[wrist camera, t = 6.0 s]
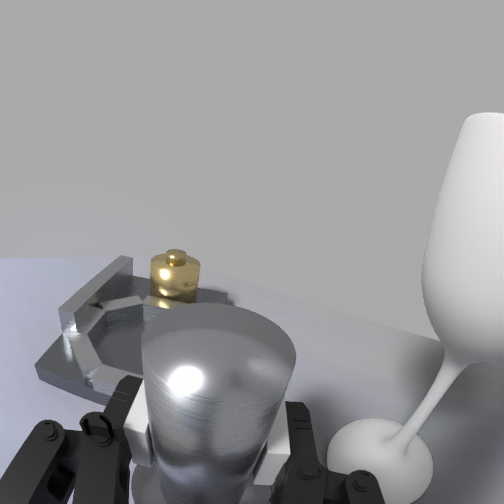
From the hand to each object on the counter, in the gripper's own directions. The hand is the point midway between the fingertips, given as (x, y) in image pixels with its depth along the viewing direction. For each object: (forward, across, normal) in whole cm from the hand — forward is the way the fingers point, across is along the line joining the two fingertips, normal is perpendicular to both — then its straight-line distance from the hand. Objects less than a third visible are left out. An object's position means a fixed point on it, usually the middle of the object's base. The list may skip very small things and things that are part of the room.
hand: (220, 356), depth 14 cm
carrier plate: (+9, -7, -7) cm, 13 cm away
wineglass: (-2, +12, -7) cm, 14 cm away
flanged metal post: (-5, 0, -7) cm, 9 cm away
